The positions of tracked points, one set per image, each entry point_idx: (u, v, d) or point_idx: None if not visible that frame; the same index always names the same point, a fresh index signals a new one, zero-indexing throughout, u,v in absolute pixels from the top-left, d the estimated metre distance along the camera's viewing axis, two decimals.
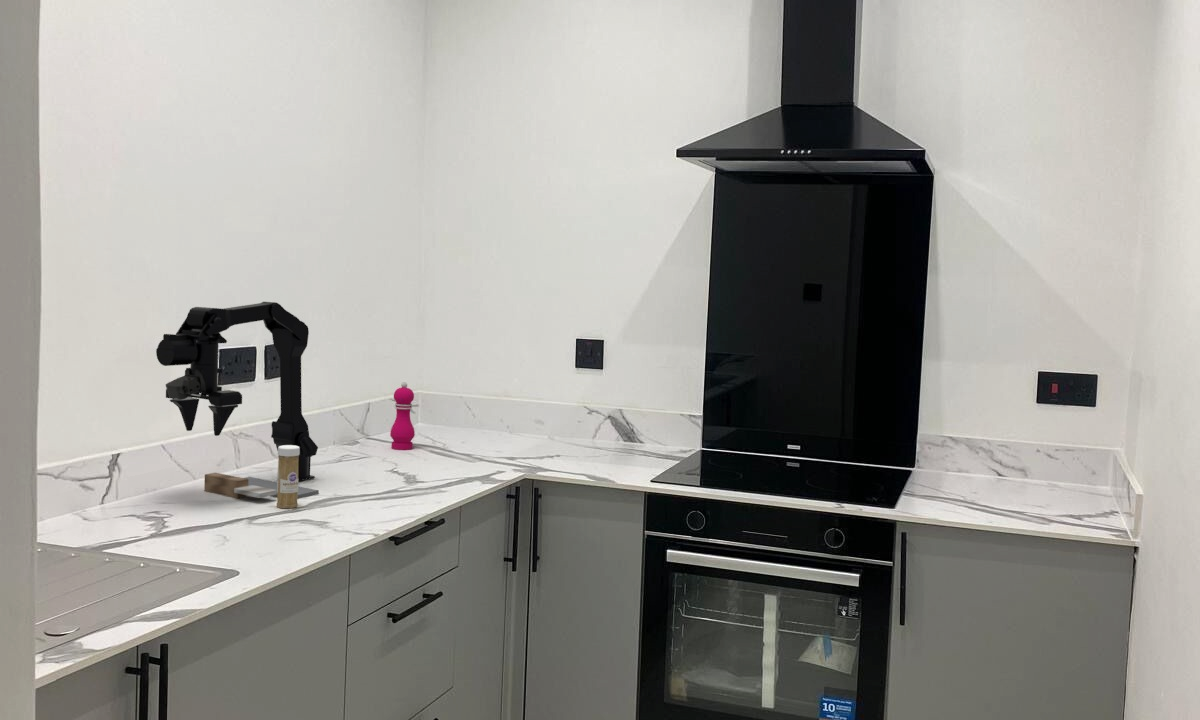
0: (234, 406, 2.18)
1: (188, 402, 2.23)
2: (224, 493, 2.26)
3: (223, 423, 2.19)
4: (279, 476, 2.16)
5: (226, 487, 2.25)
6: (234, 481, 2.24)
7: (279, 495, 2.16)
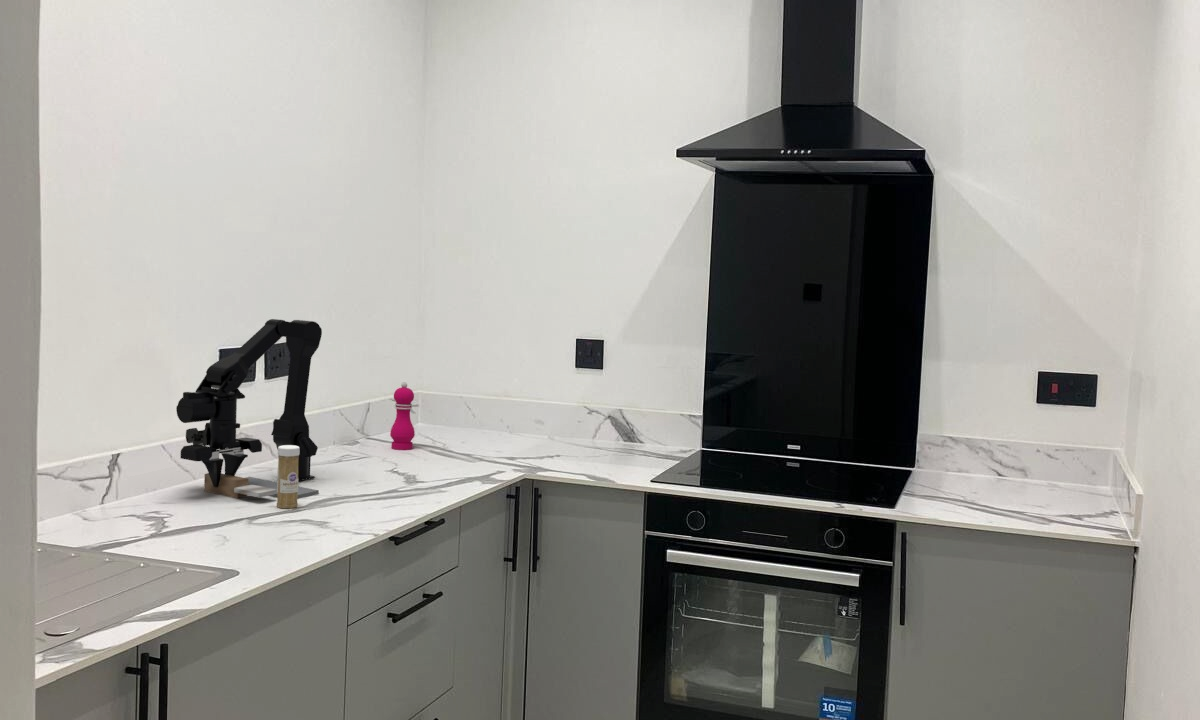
0: (209, 461, 2.22)
1: (229, 457, 2.30)
2: (224, 493, 2.26)
3: (214, 476, 2.25)
4: (279, 476, 2.16)
5: (226, 487, 2.25)
6: (234, 481, 2.24)
7: (279, 495, 2.16)
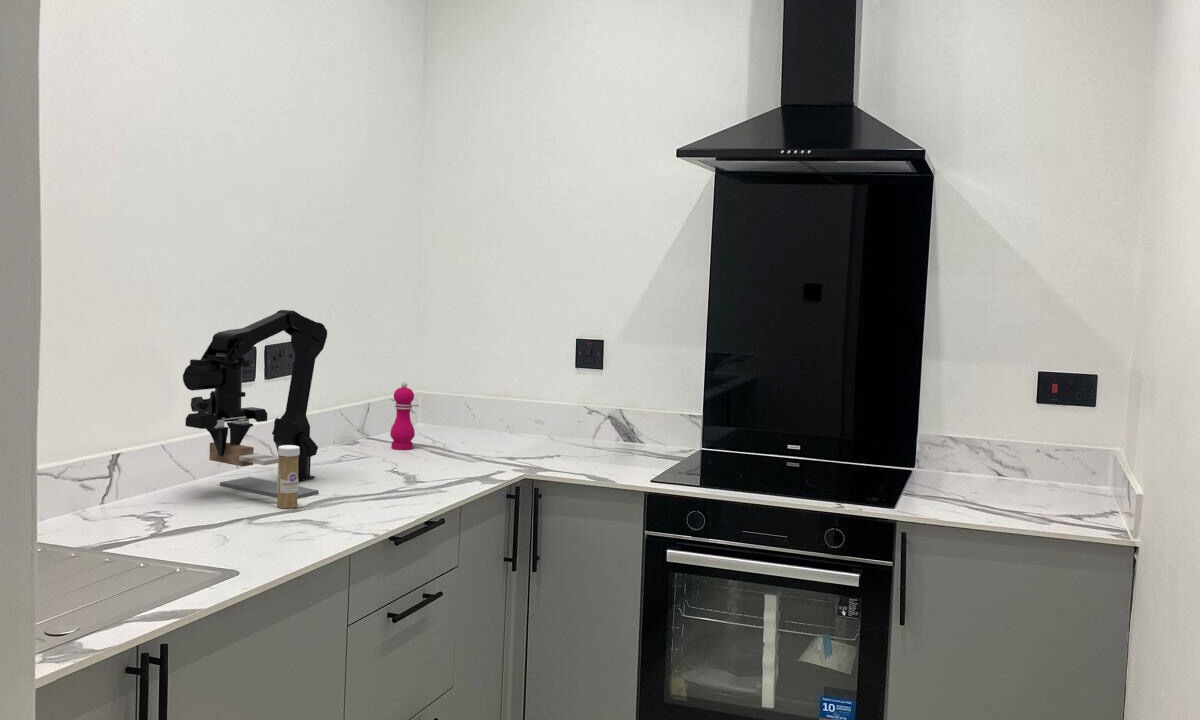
0: (214, 429, 2.21)
1: (235, 426, 2.28)
2: (229, 461, 2.24)
3: (220, 444, 2.24)
4: (279, 476, 2.16)
5: (231, 456, 2.24)
6: (239, 449, 2.23)
7: (279, 495, 2.16)
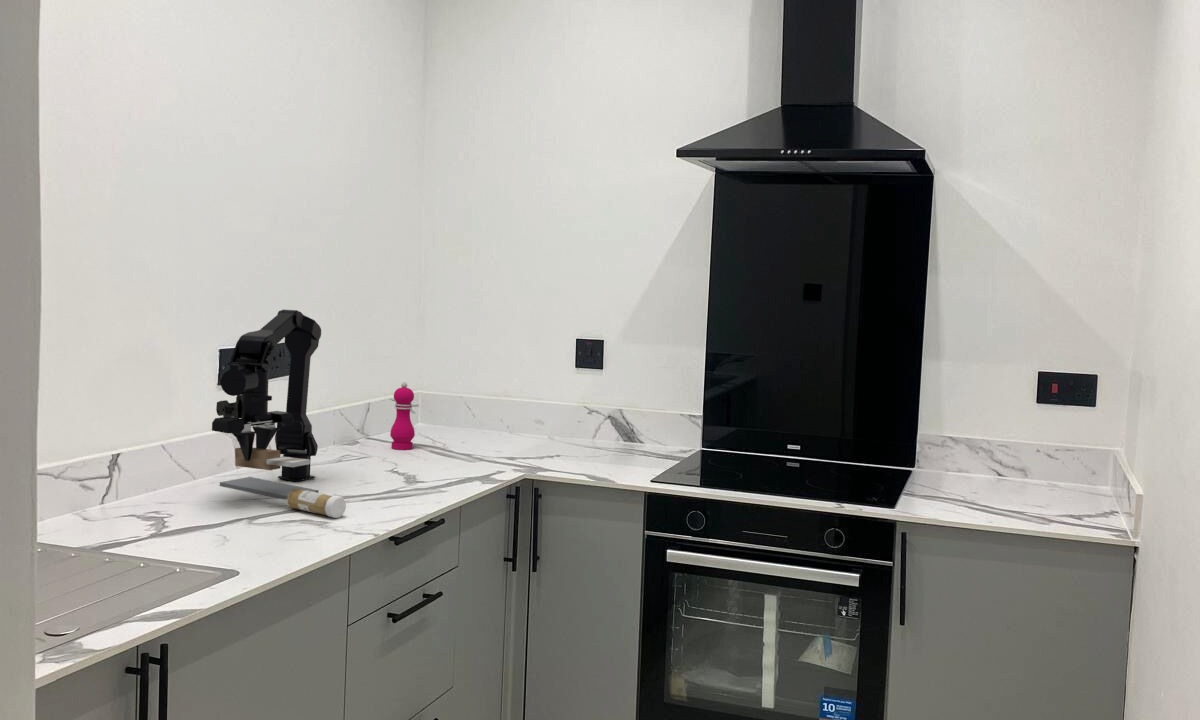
0: (240, 433, 2.17)
1: (261, 430, 2.24)
2: (256, 466, 2.20)
3: (246, 449, 2.20)
4: (309, 504, 2.11)
5: (257, 460, 2.20)
6: (266, 452, 2.19)
7: (295, 501, 2.13)
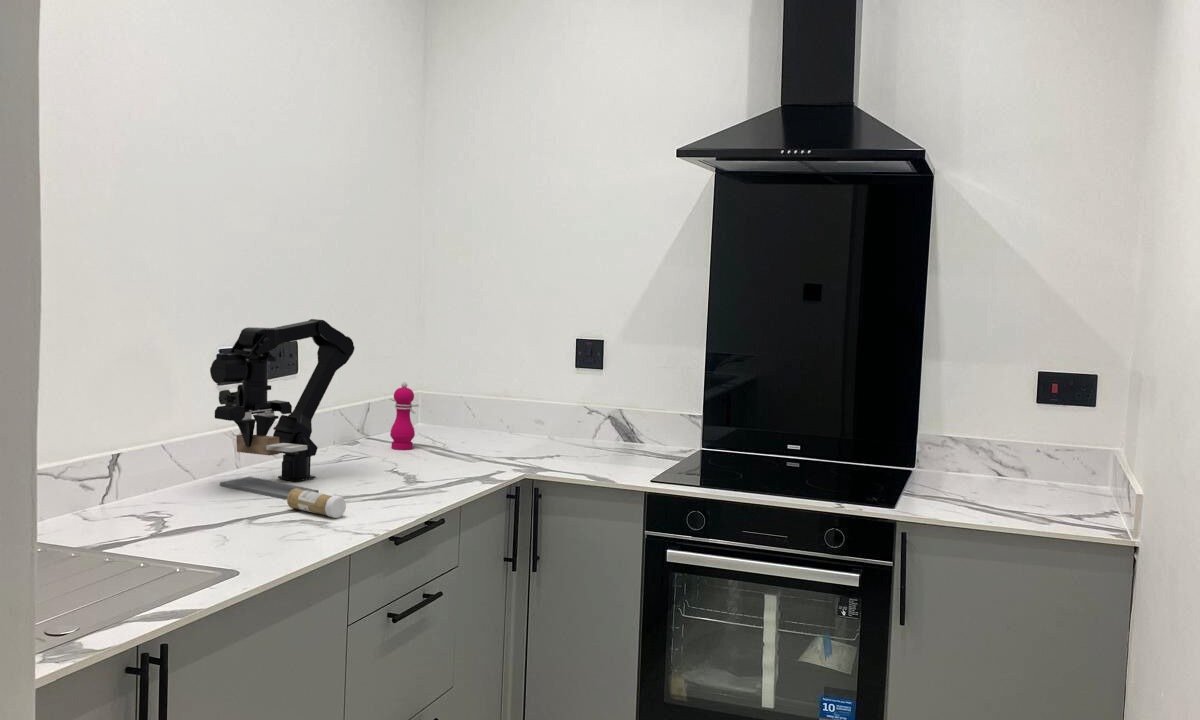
0: (242, 421, 2.30)
1: (261, 418, 2.37)
2: (256, 451, 2.33)
3: (247, 436, 2.32)
4: (309, 504, 2.11)
5: (258, 446, 2.33)
6: (266, 439, 2.31)
7: (295, 501, 2.13)
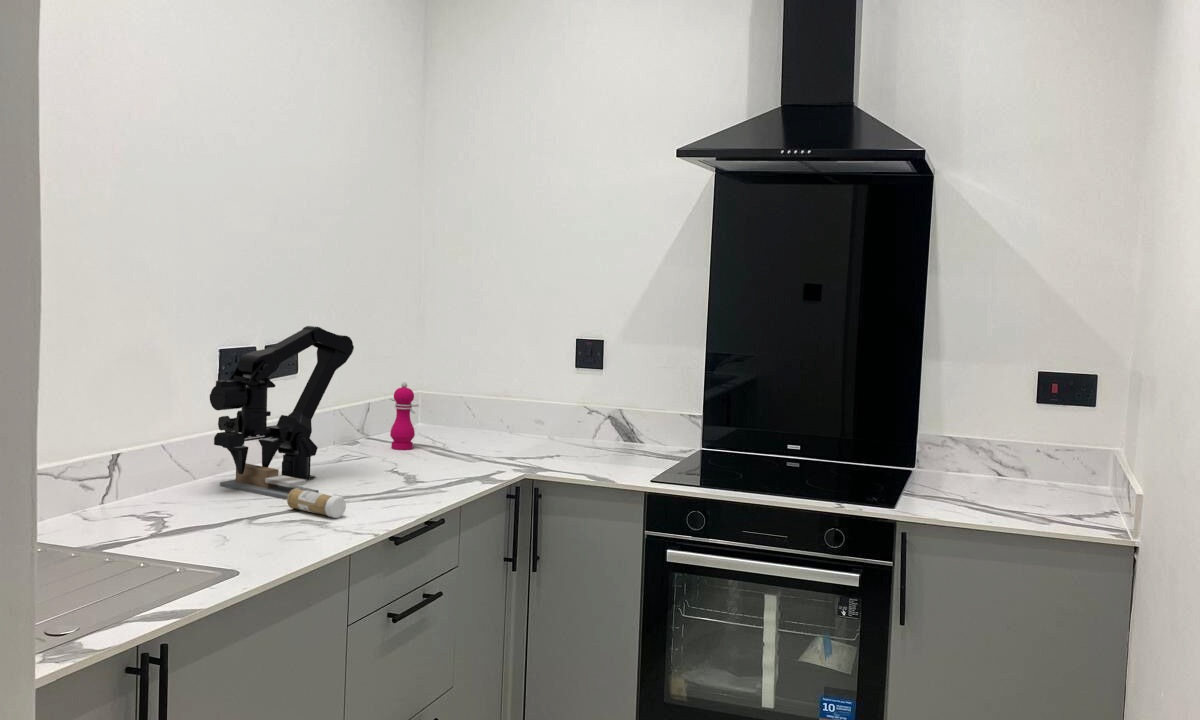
0: (234, 448, 2.28)
1: (266, 443, 2.39)
2: (255, 483, 2.34)
3: (240, 463, 2.31)
4: (309, 504, 2.11)
5: (257, 477, 2.33)
6: (265, 471, 2.32)
7: (295, 501, 2.13)
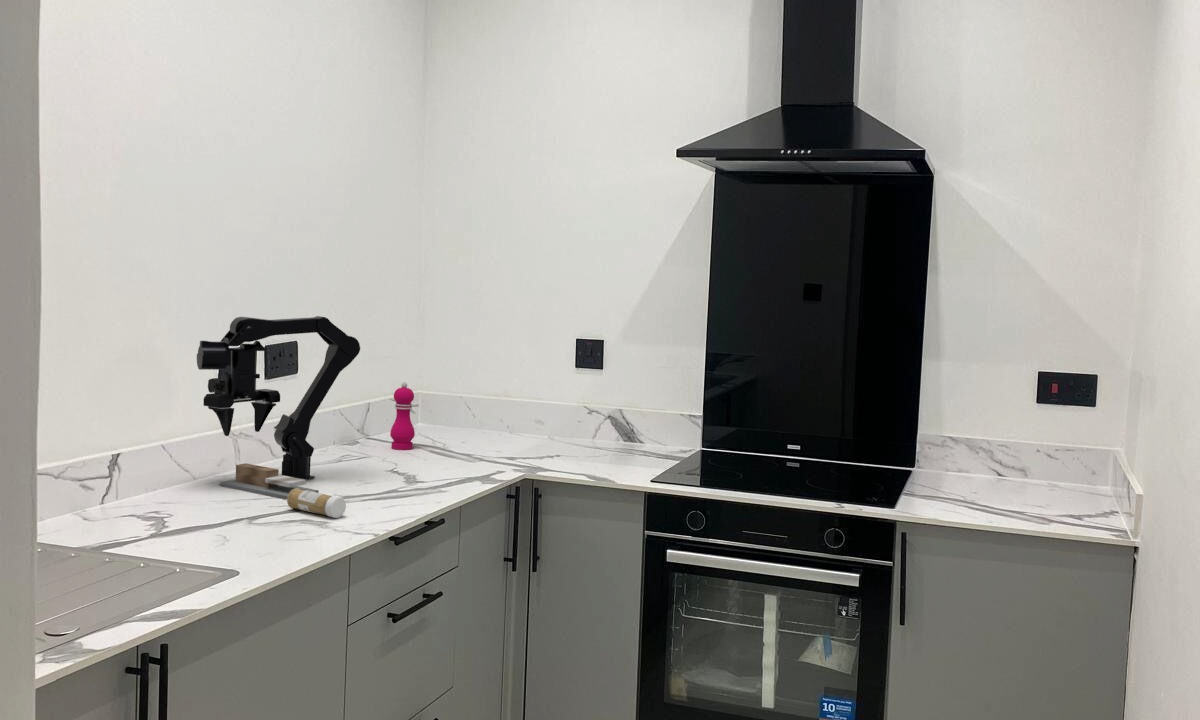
0: (220, 409, 2.30)
1: (259, 405, 2.42)
2: (255, 483, 2.34)
3: (226, 425, 2.33)
4: (309, 504, 2.11)
5: (257, 477, 2.33)
6: (265, 471, 2.32)
7: (295, 501, 2.13)
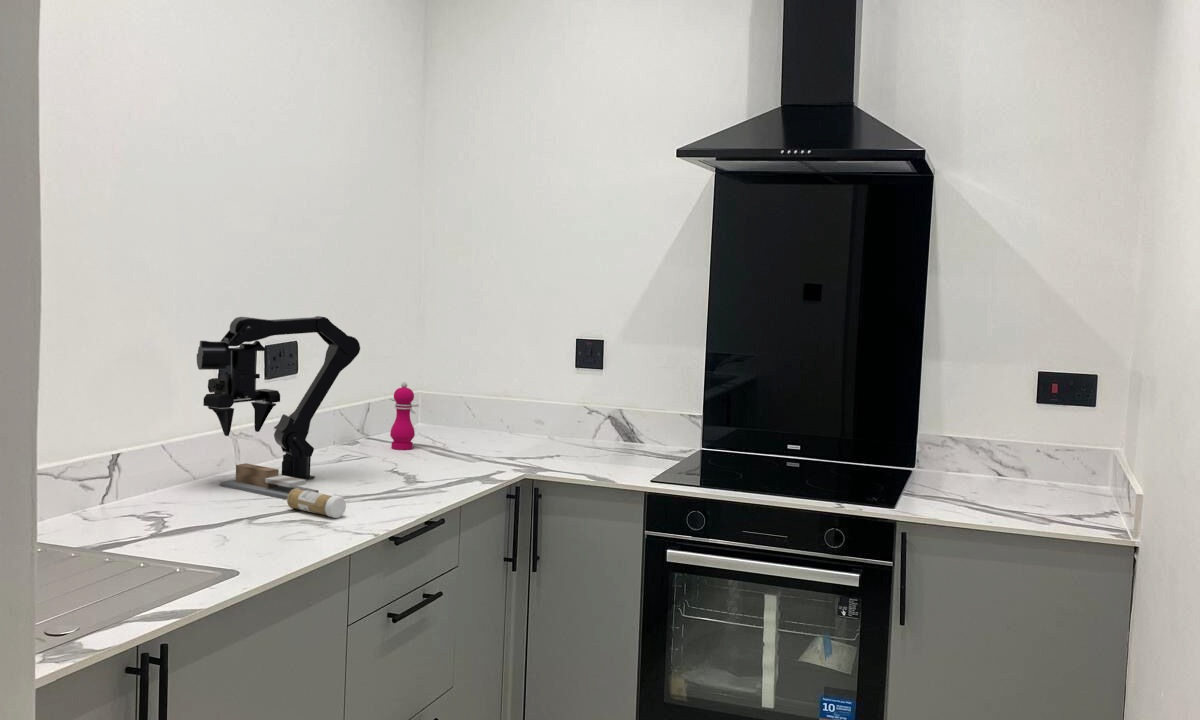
0: (220, 409, 2.30)
1: (259, 405, 2.42)
2: (255, 483, 2.34)
3: (225, 425, 2.33)
4: (309, 504, 2.11)
5: (257, 477, 2.33)
6: (265, 471, 2.32)
7: (295, 501, 2.13)
